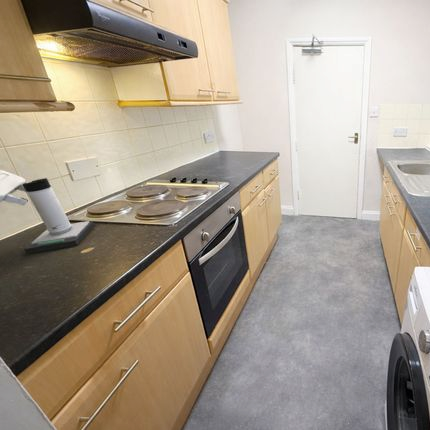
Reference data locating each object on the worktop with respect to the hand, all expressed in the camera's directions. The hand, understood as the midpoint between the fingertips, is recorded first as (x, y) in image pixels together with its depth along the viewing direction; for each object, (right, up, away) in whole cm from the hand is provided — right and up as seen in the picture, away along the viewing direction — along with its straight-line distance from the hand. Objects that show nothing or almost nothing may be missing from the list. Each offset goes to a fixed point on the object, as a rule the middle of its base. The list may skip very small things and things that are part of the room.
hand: (31, 198), depth 90 cm
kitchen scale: (+4, -14, +8) cm, 17 cm away
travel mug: (+3, -12, +7) cm, 14 cm away
